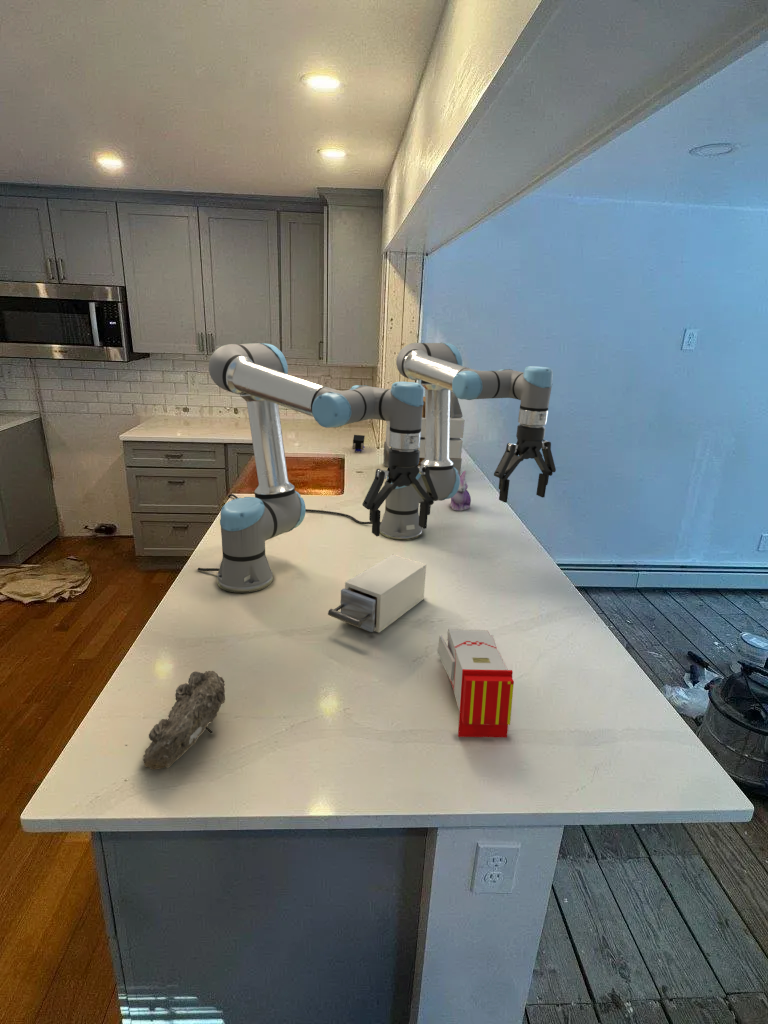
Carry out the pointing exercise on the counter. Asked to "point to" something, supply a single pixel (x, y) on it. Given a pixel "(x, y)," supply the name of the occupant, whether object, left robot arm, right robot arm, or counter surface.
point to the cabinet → (391, 587)
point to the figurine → (461, 496)
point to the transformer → (454, 440)
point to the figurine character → (358, 442)
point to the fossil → (185, 719)
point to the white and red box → (478, 682)
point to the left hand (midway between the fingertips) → (399, 530)
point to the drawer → (356, 609)
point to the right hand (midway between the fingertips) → (521, 498)
